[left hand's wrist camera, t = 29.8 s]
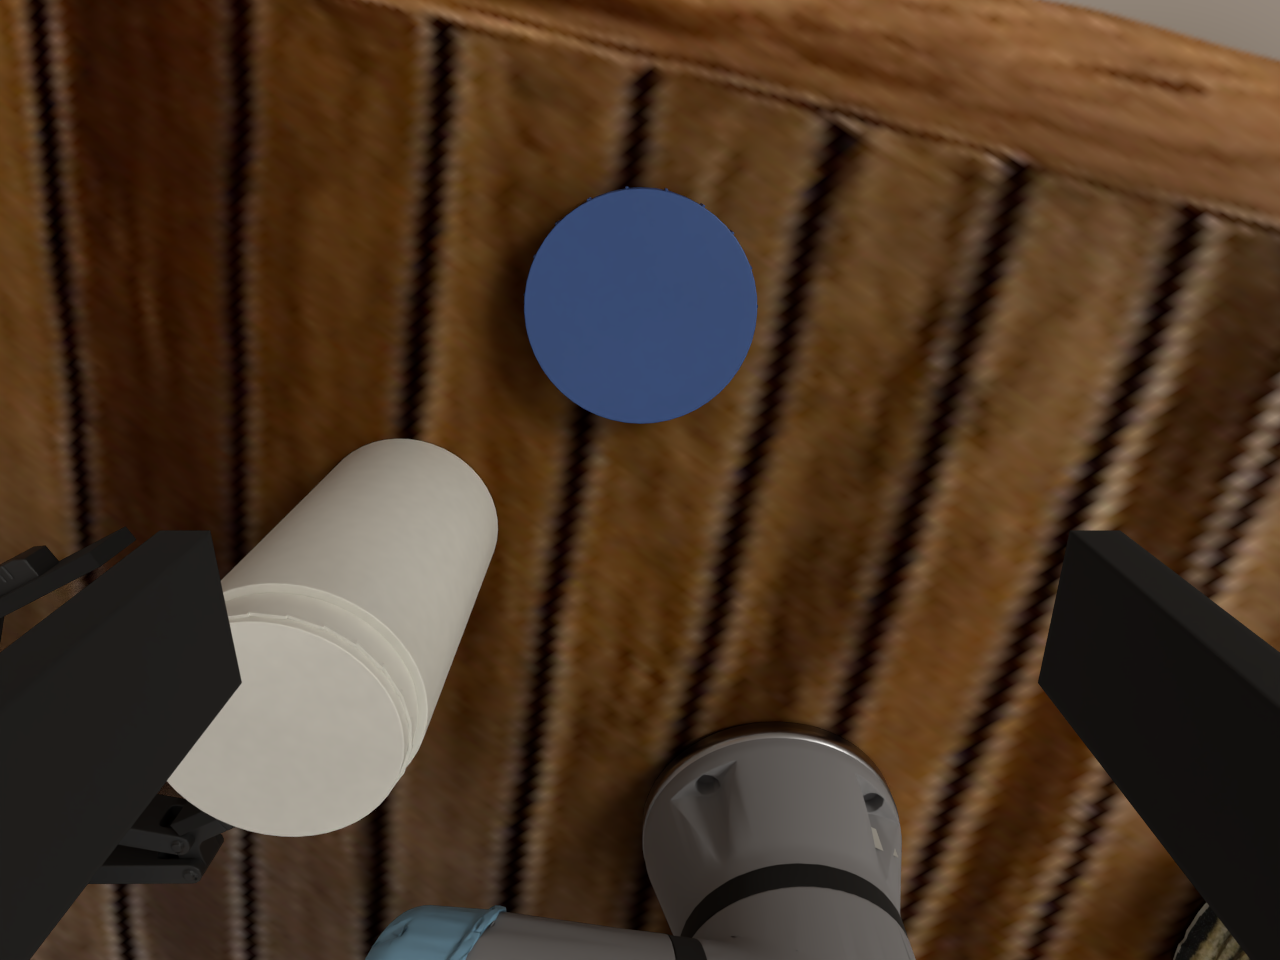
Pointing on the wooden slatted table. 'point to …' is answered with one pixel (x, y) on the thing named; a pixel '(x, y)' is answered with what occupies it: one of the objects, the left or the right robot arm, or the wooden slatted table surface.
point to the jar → (343, 641)
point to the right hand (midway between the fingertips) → (209, 660)
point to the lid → (640, 305)
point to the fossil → (1208, 940)
